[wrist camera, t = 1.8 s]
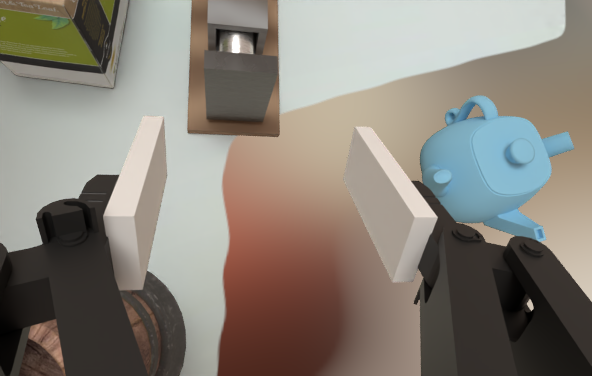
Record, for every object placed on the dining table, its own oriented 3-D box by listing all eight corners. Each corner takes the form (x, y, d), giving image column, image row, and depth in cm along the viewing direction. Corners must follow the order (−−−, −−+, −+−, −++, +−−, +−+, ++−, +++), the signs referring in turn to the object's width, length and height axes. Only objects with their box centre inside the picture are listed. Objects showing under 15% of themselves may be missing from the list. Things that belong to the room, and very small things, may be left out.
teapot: (480, 262, 48) (559, 258, 37) (384, 200, 47) (435, 178, 36) (523, 159, 52) (605, 129, 41) (436, 101, 51) (496, 55, 40)
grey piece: (262, 122, 44) (278, 73, 33) (206, 119, 43) (203, 68, 32) (261, -11, 47) (275, -93, 37) (209, -17, 46) (208, -104, 35)
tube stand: (278, 136, 46) (289, 111, 39) (187, 133, 44) (182, 105, 37) (275, -57, 51) (285, -111, 44) (194, -68, 49) (191, -126, 42)
